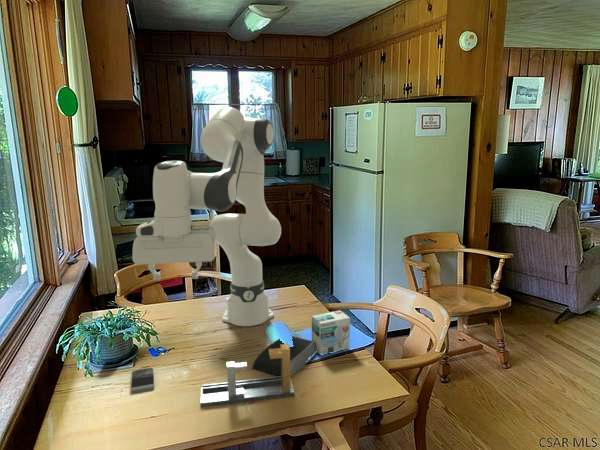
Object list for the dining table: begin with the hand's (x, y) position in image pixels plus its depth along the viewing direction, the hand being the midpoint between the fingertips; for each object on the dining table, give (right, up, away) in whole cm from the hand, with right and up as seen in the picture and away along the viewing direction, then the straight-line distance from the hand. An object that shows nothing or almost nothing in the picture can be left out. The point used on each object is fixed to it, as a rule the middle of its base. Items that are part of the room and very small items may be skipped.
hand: (176, 279), depth 116 cm
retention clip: (+16, -30, +1) cm, 34 cm away
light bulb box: (+41, -25, +27) cm, 56 cm away
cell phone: (-12, -30, +9) cm, 34 cm away
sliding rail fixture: (+18, -31, +3) cm, 36 cm away
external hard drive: (+28, -27, +21) cm, 44 cm away
